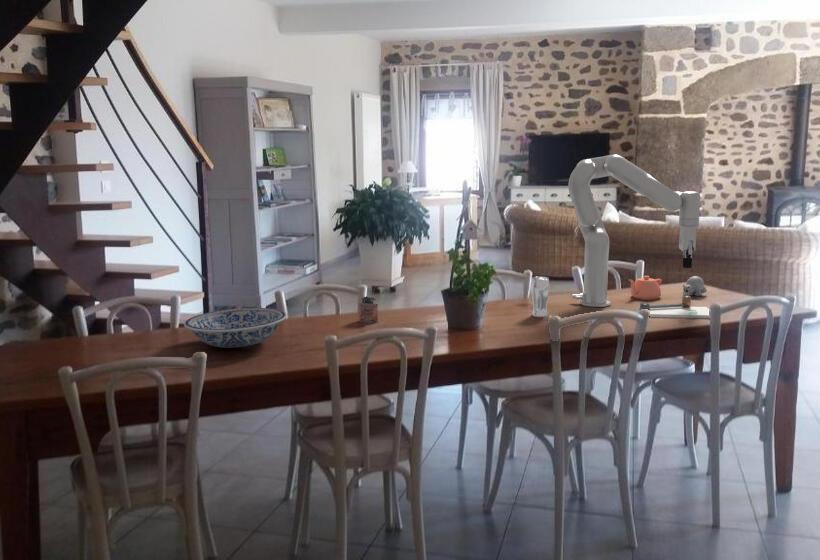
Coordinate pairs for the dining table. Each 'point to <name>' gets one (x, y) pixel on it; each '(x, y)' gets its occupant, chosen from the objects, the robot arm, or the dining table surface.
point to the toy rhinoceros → (694, 286)
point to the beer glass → (540, 296)
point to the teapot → (646, 288)
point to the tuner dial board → (680, 312)
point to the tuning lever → (685, 303)
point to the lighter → (368, 310)
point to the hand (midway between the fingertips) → (687, 267)
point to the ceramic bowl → (235, 326)
